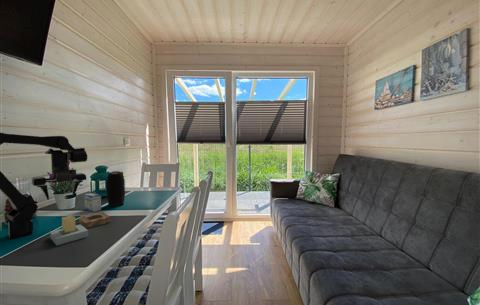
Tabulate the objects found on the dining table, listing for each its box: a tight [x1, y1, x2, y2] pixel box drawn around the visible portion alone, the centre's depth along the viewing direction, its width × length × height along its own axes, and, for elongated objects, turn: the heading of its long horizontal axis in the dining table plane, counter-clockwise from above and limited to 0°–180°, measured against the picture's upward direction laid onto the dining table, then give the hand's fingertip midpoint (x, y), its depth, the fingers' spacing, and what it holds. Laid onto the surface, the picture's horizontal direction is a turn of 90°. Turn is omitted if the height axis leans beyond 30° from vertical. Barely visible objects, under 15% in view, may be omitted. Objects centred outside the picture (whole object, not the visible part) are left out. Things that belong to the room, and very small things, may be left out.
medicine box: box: [84, 192, 102, 213], centre depth 122 cm, size 8×4×9 cm, turn 62°
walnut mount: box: [78, 212, 112, 229], centre depth 104 cm, size 10×10×2 cm
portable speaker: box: [106, 170, 126, 208], centre depth 131 cm, size 9×9×20 cm
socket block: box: [49, 223, 89, 246], centre depth 88 cm, size 10×10×2 cm
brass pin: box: [61, 215, 77, 235], centre depth 88 cm, size 4×4×8 cm
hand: (61, 197), depth 102 cm, fingers open, 9 cm apart
